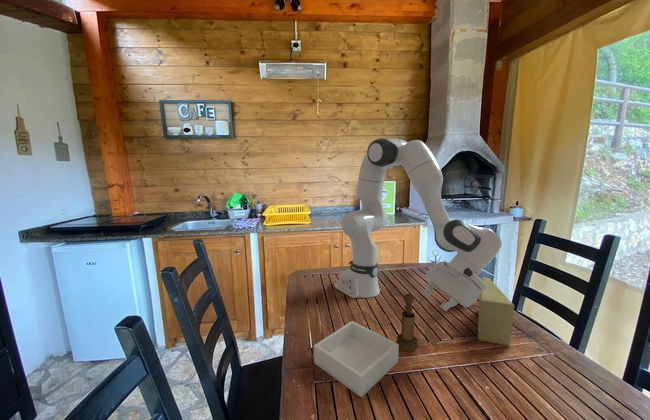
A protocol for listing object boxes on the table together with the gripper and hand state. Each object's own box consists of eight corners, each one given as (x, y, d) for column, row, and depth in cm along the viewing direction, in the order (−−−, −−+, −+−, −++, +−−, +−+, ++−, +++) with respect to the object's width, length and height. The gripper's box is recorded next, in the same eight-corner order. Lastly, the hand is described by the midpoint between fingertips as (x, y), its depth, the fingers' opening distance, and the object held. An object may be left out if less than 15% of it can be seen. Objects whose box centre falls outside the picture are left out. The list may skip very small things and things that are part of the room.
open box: (314, 363, 84) (313, 345, 83) (352, 336, 97) (352, 320, 96) (361, 397, 72) (361, 377, 71) (398, 362, 84) (398, 344, 83)
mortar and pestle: (418, 353, 88) (420, 300, 85) (397, 350, 90) (399, 298, 86) (416, 340, 95) (418, 290, 92) (396, 337, 96) (397, 289, 93)
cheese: (469, 308, 114) (471, 274, 112) (496, 312, 111) (499, 277, 108) (477, 340, 94) (480, 299, 91) (510, 347, 90) (515, 304, 88)
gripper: (437, 254, 101) (411, 282, 101) (479, 276, 81) (447, 312, 81) (447, 265, 103) (422, 292, 102) (491, 289, 83) (460, 324, 83)
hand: (433, 301), depth 91 cm, fingers open, 8 cm apart
